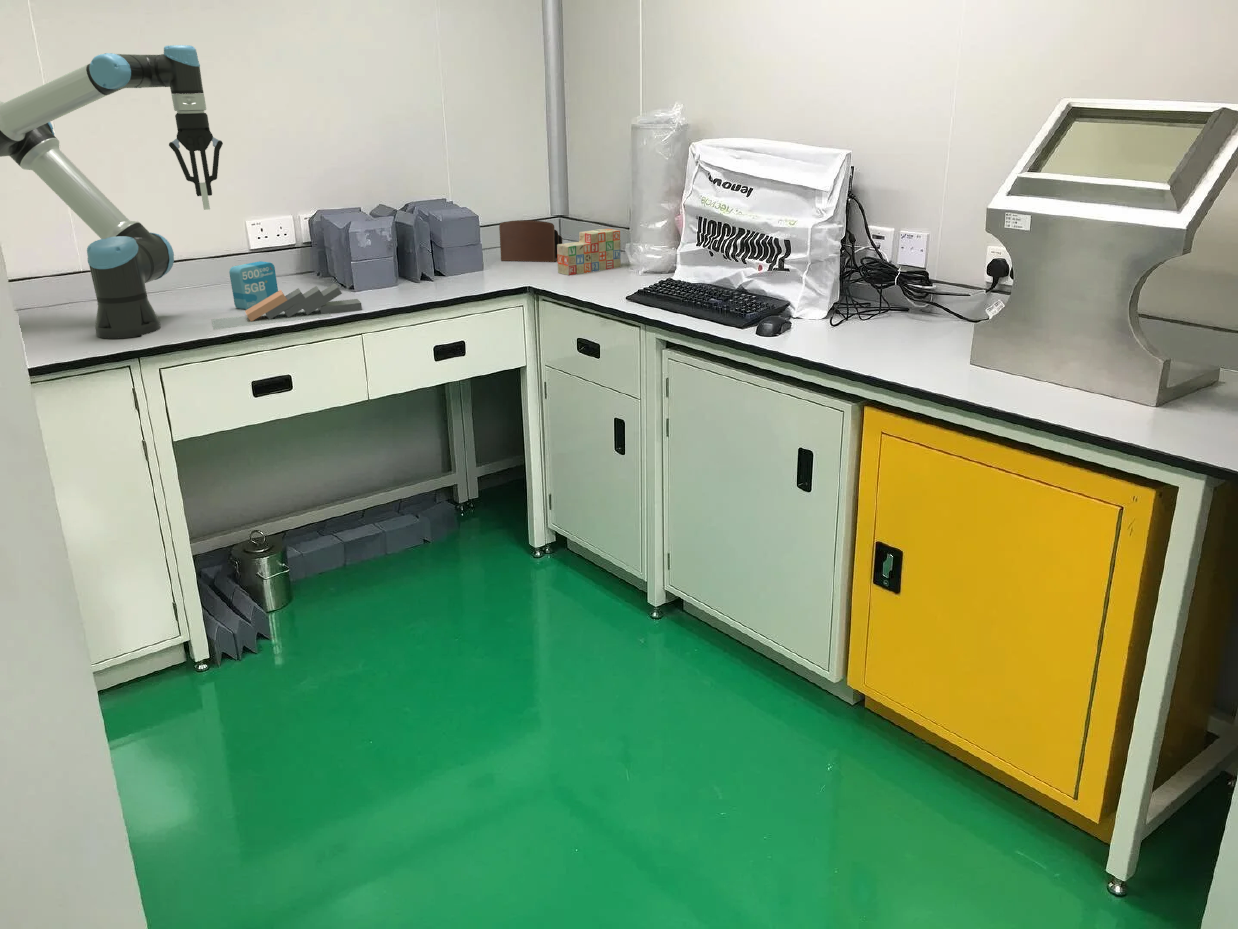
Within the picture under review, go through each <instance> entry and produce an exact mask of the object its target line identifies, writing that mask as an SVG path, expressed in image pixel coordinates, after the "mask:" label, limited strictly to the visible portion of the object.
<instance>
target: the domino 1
mask: <svg viewBox="0 0 1238 929" xmlns="http://www.w3.org/2000/svg"><path fill="white" fill-rule="evenodd" d="M285 296H286V295H285V293H283V291H282V289H278V292H276V293H274V294H273V295H271V296H269V297H268V298H266V299H264V300H262V301H261V302H259V303H257V304H256V305H254V306H252V307H251V308H249V309H247V310H244V312H245V316H247V317H248V318H249V319H250V321H251V322H252V321H253V320H255V319H257V318H258V317H260V316H262V315H263V314H265V313H267V312H268V311H270V310H272V309H273V308H275V307H277V306H278V305H280V304H282V303H284V302H285V301H287V298H286V297H285Z"/></svg>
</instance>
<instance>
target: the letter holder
mask: <svg viewBox="0 0 1238 929" xmlns="http://www.w3.org/2000/svg"><path fill="white" fill-rule="evenodd" d="M498 227H499V228H498V229H499V247H500V261H501V262H524V263H525V262H527V263H528V262H529V263H532V262H533V263H556V262H557V245H558V244H563V236H561V235H560V234H559V231H558V230H557V229H555V225H554V223H552V222H548V221H542V220H532V219H531V220H530V219H529V220H527V219H526V220H525V219H519V220H509V221H502V222H500V223H499V226H498Z"/></svg>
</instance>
